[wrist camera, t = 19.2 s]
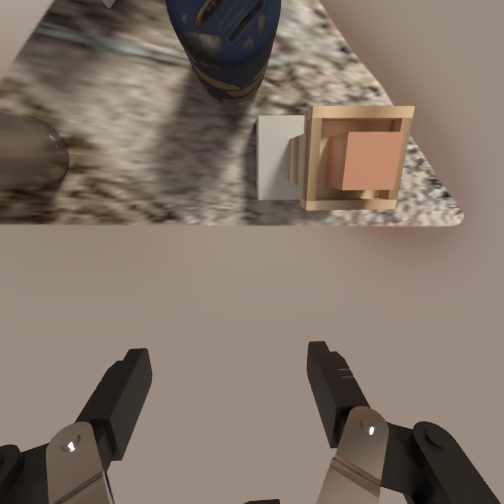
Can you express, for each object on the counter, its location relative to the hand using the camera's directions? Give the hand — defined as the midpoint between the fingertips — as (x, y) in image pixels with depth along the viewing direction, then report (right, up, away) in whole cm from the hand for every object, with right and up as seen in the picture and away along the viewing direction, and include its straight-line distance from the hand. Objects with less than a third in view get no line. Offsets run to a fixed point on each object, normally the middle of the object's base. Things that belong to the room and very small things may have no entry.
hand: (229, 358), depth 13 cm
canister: (-2, +31, +23) cm, 39 cm away
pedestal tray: (+9, +18, +23) cm, 30 cm away
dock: (+9, +20, +27) cm, 35 cm away
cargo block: (+10, +13, +10) cm, 19 cm away
